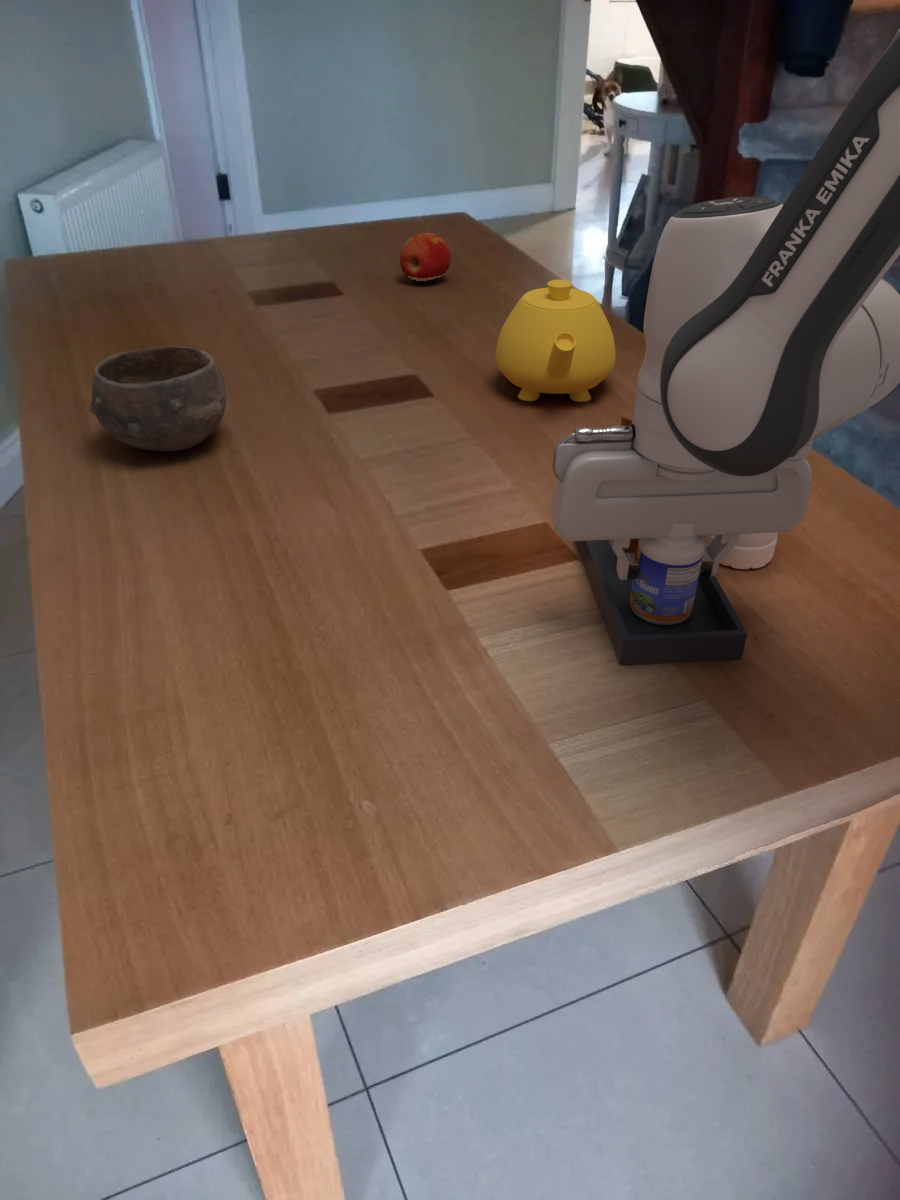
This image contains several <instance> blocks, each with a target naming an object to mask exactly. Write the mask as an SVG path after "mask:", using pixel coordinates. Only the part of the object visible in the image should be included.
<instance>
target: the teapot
mask: <svg viewBox="0 0 900 1200" xmlns="http://www.w3.org/2000/svg"><path fill="white" fill-rule="evenodd" d="M546 285H547V286H546V287H540V288H536V289H532V290H529V291H526V292H525V293H524V294H523V295H522V297H520V299H519V300H518V301H517V302H516V304H515V305H514V307H513V309H512V310H511V312H510V313H509V315H508V317H507V318H506V320H505V321H504V324H503V325H502V327H501V330H500V332H499V335H498V338H497V341H496V342H497V343H496V347H495V355H494V358H495V359H494V360H495V363H496V366H497V367H498V369H499V371H500V372H501V373H502V374H503V375H504V377H505V378H506V379H507V380H508V381H509V382H510V383H511V384H513V385H514V386H516V387H518V388H520V391H519V393H518V394H517V398H518V399H519V400H521V401H526V402H535V401H537V400H538V399H539V398H540V395H541V393H543V394H555V395H556V394H557V395H560V394H561V395H562V394H563V395H564V394H568V395H569V399H570V400H572V401H574V402H579V403H582V402H588V401H590V400H592V397H591V395H590V392H589V390H590V389H593V388H595V387H597V386H598V385H599V384H600V383H601V382H603V381H604V380H605V379H606V378H607V377H608V376H609V375H610V374H611V372H612V371H613V369H614V368H615V366H616V358H617V355H616V343H615V338H614V334H613V330H612V328H611V325H610V323H609V321H608V318H607V317H606V314H605V313H604V310H603V309H602V307H601V304H600V303H599V302H598V299H596V297H595V296H594V295H593V294H591V293H590V292H587V291H585V290H582V289H578V288H573V282H571V281H570V280H567V279H551V280H549V281H547V283H546Z"/></svg>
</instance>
